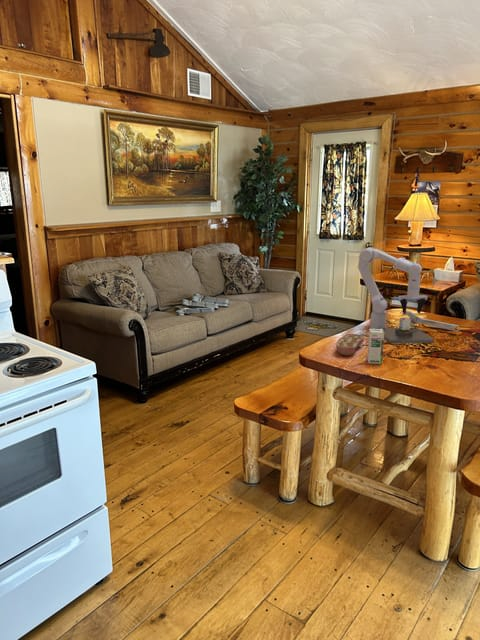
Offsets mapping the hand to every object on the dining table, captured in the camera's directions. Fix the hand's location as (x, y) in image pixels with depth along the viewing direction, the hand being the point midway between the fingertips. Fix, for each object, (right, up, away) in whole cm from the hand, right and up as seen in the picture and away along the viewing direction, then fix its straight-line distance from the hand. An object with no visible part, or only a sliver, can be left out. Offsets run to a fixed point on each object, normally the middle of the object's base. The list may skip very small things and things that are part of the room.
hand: (411, 313), depth 253 cm
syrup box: (-31, -22, -40) cm, 55 cm away
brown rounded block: (-38, -18, -25) cm, 49 cm away
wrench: (+14, -8, +11) cm, 19 cm away
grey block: (-6, -8, -5) cm, 11 cm away
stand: (-6, -12, -4) cm, 14 cm away
